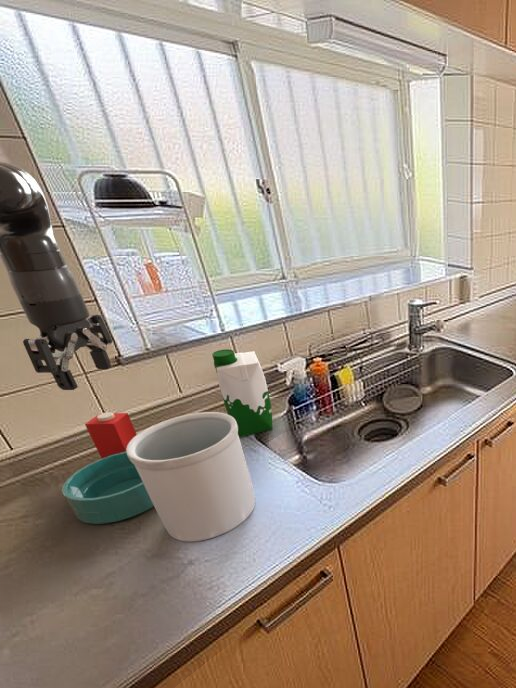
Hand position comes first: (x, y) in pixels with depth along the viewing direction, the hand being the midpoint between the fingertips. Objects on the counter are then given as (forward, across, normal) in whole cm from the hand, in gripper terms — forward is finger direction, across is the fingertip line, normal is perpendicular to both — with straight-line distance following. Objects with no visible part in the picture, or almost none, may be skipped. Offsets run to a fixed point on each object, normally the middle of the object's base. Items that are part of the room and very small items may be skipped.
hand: (88, 378), depth 79 cm
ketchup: (+20, 0, 0) cm, 20 cm away
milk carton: (+20, -13, +20) cm, 31 cm away
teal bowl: (+20, +11, +7) cm, 24 cm away
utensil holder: (+20, +16, +24) cm, 35 cm away
